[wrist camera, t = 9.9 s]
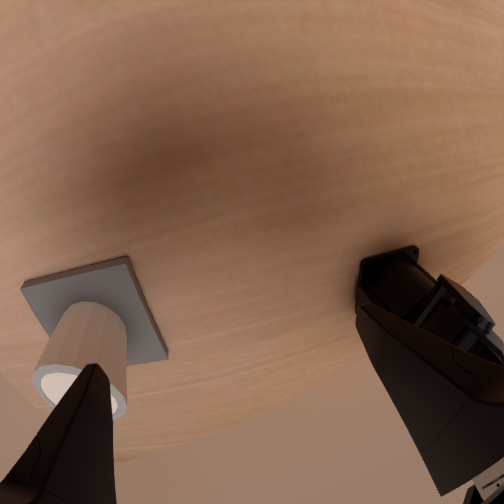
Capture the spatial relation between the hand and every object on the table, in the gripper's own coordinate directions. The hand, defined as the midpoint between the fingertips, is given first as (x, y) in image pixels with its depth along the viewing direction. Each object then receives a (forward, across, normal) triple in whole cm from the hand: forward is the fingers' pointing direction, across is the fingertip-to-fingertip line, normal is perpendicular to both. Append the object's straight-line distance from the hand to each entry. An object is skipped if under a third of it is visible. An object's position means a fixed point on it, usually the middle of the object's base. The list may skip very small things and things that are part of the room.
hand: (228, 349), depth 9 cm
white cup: (+11, +11, +7) cm, 17 cm away
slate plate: (+12, +11, +7) cm, 18 cm away
